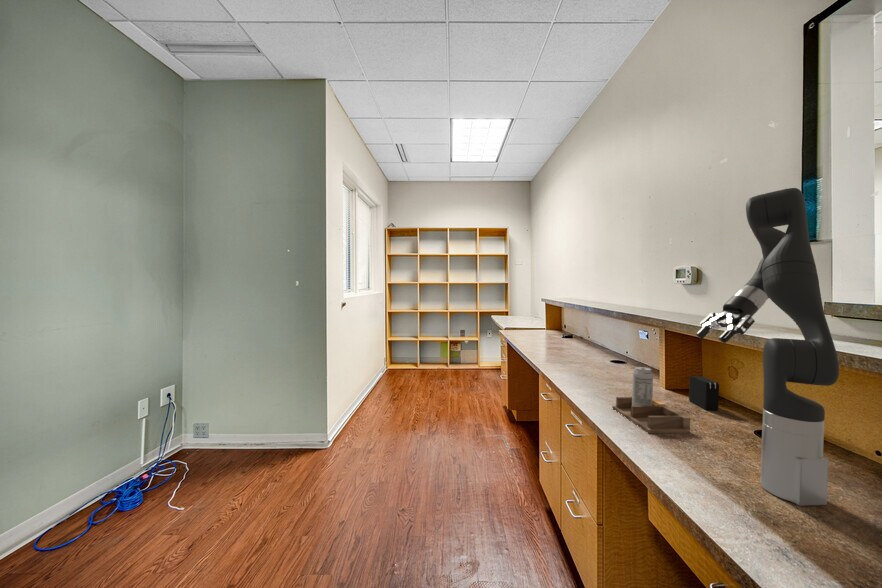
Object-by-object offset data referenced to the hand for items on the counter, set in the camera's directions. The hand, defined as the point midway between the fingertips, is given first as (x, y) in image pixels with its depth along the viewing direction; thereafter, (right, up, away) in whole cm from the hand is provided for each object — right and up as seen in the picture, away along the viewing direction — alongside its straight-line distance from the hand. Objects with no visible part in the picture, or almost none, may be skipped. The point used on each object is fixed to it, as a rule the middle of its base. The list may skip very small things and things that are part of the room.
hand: (709, 338), depth 109 cm
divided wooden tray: (-16, -27, +5) cm, 32 cm away
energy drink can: (-16, -26, +10) cm, 32 cm away
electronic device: (+12, -27, +19) cm, 35 cm away
